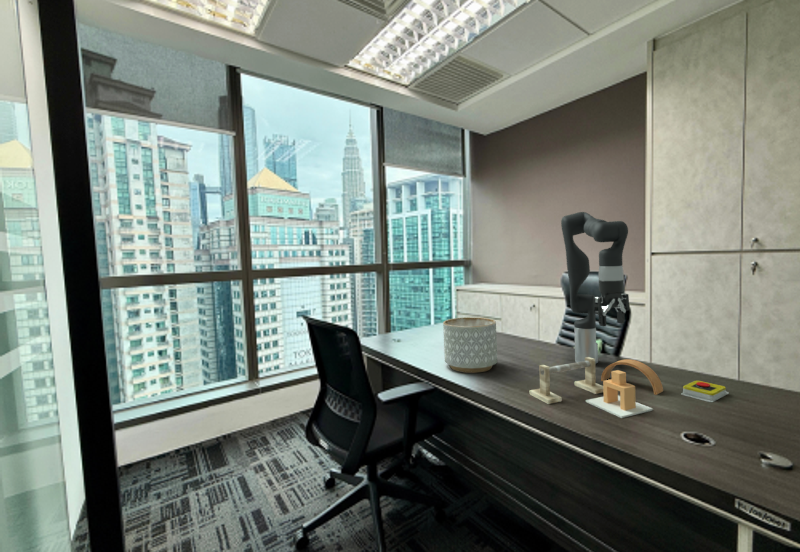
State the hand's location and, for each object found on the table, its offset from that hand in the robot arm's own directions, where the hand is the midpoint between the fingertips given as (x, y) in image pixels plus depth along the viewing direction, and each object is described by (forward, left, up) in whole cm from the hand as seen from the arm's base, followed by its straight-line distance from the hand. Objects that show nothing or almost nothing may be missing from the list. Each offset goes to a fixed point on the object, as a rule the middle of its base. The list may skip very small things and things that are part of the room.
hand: (611, 324), depth 123 cm
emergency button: (-35, +8, -29) cm, 46 cm away
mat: (+2, +3, -28) cm, 28 cm away
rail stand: (+8, -13, -28) cm, 31 cm away
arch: (-19, -8, -28) cm, 35 cm away
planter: (+24, -59, -28) cm, 69 cm away
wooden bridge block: (+2, +4, -27) cm, 28 cm away
